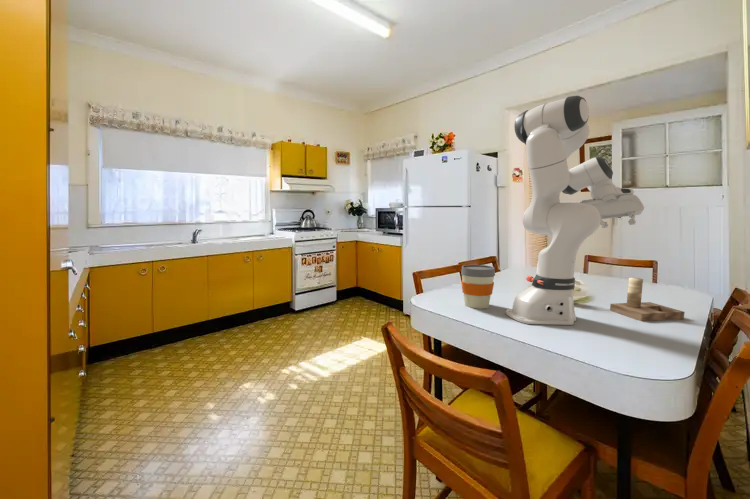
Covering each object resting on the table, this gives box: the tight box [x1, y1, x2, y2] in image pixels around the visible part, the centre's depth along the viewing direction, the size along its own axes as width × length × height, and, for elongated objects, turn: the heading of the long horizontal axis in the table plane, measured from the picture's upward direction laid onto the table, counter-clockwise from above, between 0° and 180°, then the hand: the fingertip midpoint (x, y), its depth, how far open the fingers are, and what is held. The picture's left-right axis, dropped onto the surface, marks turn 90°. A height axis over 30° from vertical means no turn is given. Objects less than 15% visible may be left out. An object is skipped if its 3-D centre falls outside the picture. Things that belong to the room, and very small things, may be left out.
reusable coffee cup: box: [460, 264, 496, 309], centre depth 130 cm, size 13×13×15 cm
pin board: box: [609, 301, 685, 322], centre depth 119 cm, size 16×12×2 cm
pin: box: [626, 277, 644, 308], centre depth 120 cm, size 4×4×10 cm
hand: (619, 225), depth 128 cm, fingers open, 8 cm apart
